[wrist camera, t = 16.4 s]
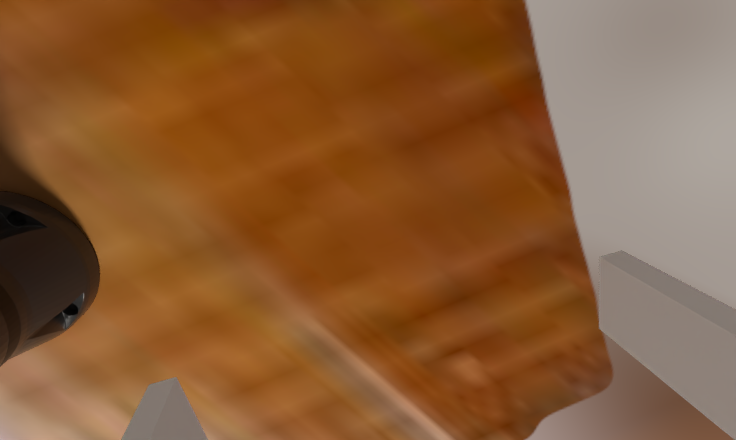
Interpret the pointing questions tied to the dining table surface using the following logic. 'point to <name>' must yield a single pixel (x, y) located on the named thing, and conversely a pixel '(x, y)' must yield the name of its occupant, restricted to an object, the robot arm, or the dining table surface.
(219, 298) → the dining table surface
